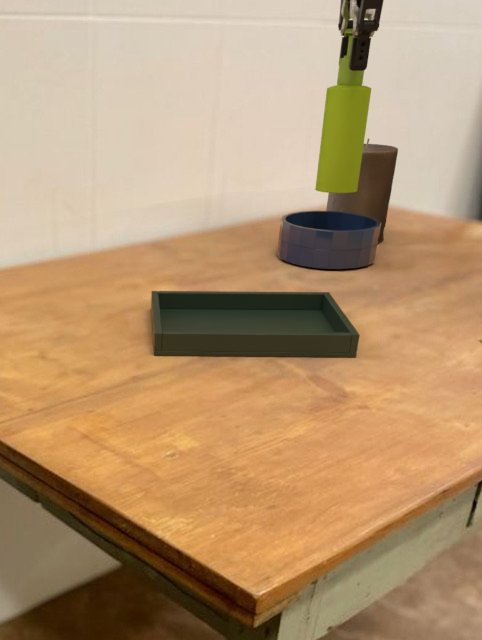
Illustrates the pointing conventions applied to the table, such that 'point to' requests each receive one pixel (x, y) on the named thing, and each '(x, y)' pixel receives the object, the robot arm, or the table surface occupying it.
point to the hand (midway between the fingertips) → (351, 68)
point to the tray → (250, 324)
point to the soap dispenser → (343, 129)
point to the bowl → (328, 239)
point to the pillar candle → (370, 185)
